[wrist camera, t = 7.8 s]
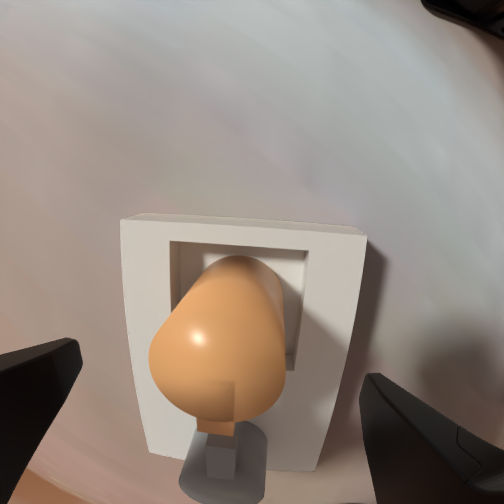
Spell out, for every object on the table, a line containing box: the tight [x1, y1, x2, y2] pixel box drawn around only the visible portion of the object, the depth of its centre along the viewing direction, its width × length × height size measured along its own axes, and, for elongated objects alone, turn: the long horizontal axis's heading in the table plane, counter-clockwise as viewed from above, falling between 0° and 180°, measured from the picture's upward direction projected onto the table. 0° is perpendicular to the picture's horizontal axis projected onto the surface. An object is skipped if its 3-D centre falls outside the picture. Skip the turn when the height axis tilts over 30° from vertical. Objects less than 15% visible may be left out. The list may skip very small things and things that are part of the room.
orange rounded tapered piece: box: [148, 255, 286, 436], centre depth 11 cm, size 4×5×6 cm
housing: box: [120, 213, 367, 504], centre depth 13 cm, size 10×14×6 cm
